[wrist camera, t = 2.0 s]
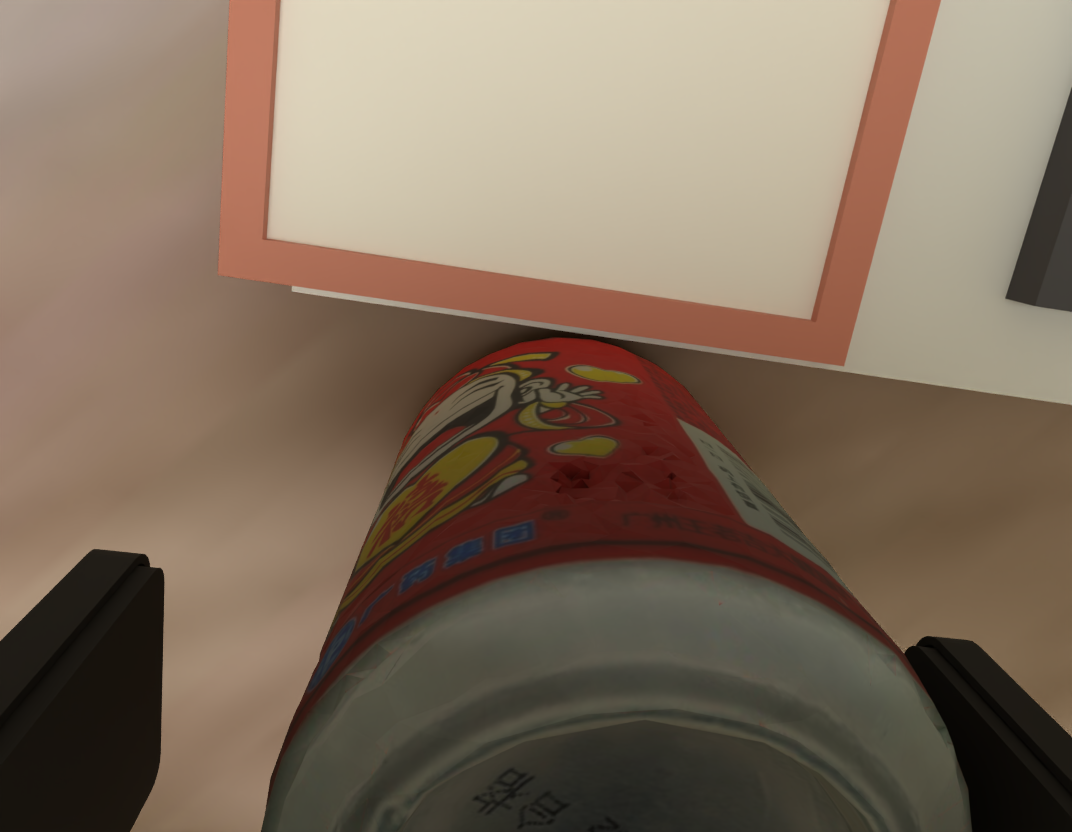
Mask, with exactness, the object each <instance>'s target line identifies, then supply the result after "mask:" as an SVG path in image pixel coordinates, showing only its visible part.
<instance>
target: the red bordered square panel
mask: <svg viewBox="0 0 1072 832" xmlns="http://www.w3.org/2000/svg"><path fill="white" fill-rule="evenodd" d="M940 3H941V0H230V2H229V26H228V50H227V73H226V97H225V120H224V144H223V167H222V191H221V215H220V238H219V262H218V275H221V276H228V277H235V278H242V279H249V280H256V281H262V282H269V283H276V284H283V285H290V286H297V287H304V288H310V289H317V290H324V291H331V292H338V293H345V294H352V295H358V296H365V297H372V298H379V299H386V300H393V301H399V302H406V303H413V304H420V305H427V306H434V307H441V308H447V309H454V310H461V311H468V312H475V313H482V314H489V315H495V316H502V317H509V318H516V319H523V320H530V321H537V322H543V323H550V324H557V325H564V326H571V327H578V328H585V329H591V330H598V331H605V332H612V333H619V334H626V335H633V336H639V337H646V338H653V339H660V340H667V341H674V342H681V343H687V344H694V345H701V346H708V347H715V348H722V349H729V350H735V351H742V352H749V353H756V354H763V355H770V356H777V357H783V358H790V359H797V360H804V361H811V362H818V363H824V364H831V365H838V366H844V365H845V361H846V357H847V353H848V349H849V346H850V342H851V338H852V334H853V331H854V327H855V323H856V319H857V316H858V312H859V308H860V304H861V300H862V297H863V293H864V289H865V285H866V282H867V278H868V274H869V270H870V267H871V263H872V259H873V255H874V251H875V248H876V244H877V240H878V236H879V233H880V229H881V225H882V221H883V217H884V214H885V210H886V206H887V202H888V199H889V195H890V191H891V187H892V184H893V180H894V176H895V172H896V168H897V165H898V161H899V157H900V153H901V150H902V146H903V142H904V138H905V135H906V131H907V127H908V123H909V119H910V116H911V112H912V108H913V104H914V101H915V97H916V93H917V89H918V86H919V82H920V78H921V74H922V70H923V67H924V63H925V59H926V55H927V52H928V48H929V44H930V40H931V36H932V33H933V29H934V25H935V21H936V18H937V14H938V10H939V6H940Z"/></svg>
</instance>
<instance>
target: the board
mask: <svg viewBox="0 0 1072 832" xmlns="http://www.w3.org/2000/svg"><path fill="white" fill-rule="evenodd" d="M1071 88H1072V0H941V3H940V6H939V10H938V14H937V18H936V21H935V25H934V29H933V33H932V36H931V40H930V44H929V48H928V52H927V55H926V59H925V63H924V67H923V70H922V74H921V78H920V82H919V86H918V89H917V93H916V97H915V101H914V104H913V108H912V112H911V116H910V119H909V123H908V127H907V131H906V135H905V138H904V142H903V146H902V150H901V153H900V157H899V161H898V165H897V168H896V172H895V176H894V180H893V184H892V187H891V191H890V195H889V199H888V202H887V206H886V210H885V214H884V217H883V221H882V225H881V229H880V233H879V236H878V240H877V244H876V248H875V251H874V255H873V259H872V263H871V267H870V270H869V274H868V278H867V282H866V285H865V289H864V293H863V297H862V300H861V304H860V308H859V312H858V316H857V319H856V323H855V327H854V331H853V334H852V338H851V342H850V346H849V349H848V353H847V357H846V361H845V365H844V366H838V365H831V364H824V363H818V362H811V361H804V360H797V359H790V358H783V357H777V356H770V355H763V354H756V353H749V352H742V351H735V350H729V349H722V348H715V347H708V346H701V345H694V344H687V343H681V342H674V341H667V340H660V339H653V338H646V337H639V336H633V335H626V334H619V333H612V332H605V331H598V330H591V329H585V328H578V327H571V326H564V325H557V324H550V323H543V322H537V321H530V320H523V319H516V318H509V317H502V316H495V315H489V314H482V313H475V312H468V311H461V310H454V309H447V308H441V307H434V306H427V305H420V304H413V303H406V302H399V301H393V300H386V299H379V298H372V297H365V296H358V295H352V294H345V293H338V292H331V291H324V290H317V289H310V288H304V287H297V286H292V292H299V293H305V294H312V295H319V296H326V297H333V298H340V299H347V300H354V301H360V302H367V303H374V304H381V305H388V306H395V307H402V308H409V309H415V310H422V311H429V312H436V313H443V314H450V315H457V316H464V317H471V318H477V319H484V320H491V321H498V322H505V323H512V324H519V325H526V326H532V327H539V328H546V329H553V330H560V331H567V332H574V333H581V334H587V335H594V336H601V337H608V338H615V339H622V340H629V341H636V342H642V343H649V344H656V345H663V346H670V347H677V348H684V349H691V350H697V351H704V352H711V353H718V354H725V355H732V356H739V357H746V358H753V359H759V360H766V361H773V362H780V363H787V364H794V365H801V366H808V367H814V368H821V369H828V370H835V371H842V372H849V373H856V374H863V375H869V376H876V377H883V378H890V379H897V380H904V381H911V382H918V383H924V384H931V385H938V386H945V387H952V388H959V389H966V390H973V391H980V392H986V393H993V394H1000V395H1007V396H1014V397H1021V398H1028V399H1035V400H1041V401H1048V402H1055V403H1062V404H1069V405H1072V312H1069V311H1063V310H1056V309H1050V308H1043V307H1037V306H1032V305H1028V304H1024V303H1020V302H1016V301H1013V300H1009V299H1005V297H1006V294H1007V291H1008V288H1009V285H1010V282H1011V278H1012V275H1013V272H1014V269H1015V266H1016V262H1017V259H1018V256H1019V253H1020V250H1021V247H1022V243H1023V240H1024V237H1025V234H1026V231H1027V227H1028V224H1029V221H1030V218H1031V215H1032V212H1033V208H1034V205H1035V202H1036V199H1037V196H1038V193H1039V189H1040V186H1041V183H1042V180H1043V177H1044V173H1045V170H1046V167H1047V164H1048V161H1049V158H1050V154H1051V151H1052V148H1053V145H1054V142H1055V138H1056V135H1057V132H1058V129H1059V126H1060V123H1061V119H1062V116H1063V113H1064V110H1065V107H1066V104H1067V100H1068V97H1069V94H1070V91H1071Z"/></svg>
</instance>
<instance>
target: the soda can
mask: <svg viewBox="0 0 1072 832" xmlns="http://www.w3.org/2000/svg"><path fill="white" fill-rule="evenodd" d="M261 832H972V826H971V816H970V805H969V794H968V788H967V785H966V782H965V780H964V777H963V774H962V772H961V769H960V766H959V764H958V761H957V757H956V754H955V750H954V746H953V743H952V741H951V738H950V735H949V733H948V730H947V727H946V725H945V724H944V722H943V720H942V718H941V716H940V714H939V712H938V711H937V709H936V707H935V705H934V703H933V702H932V700H931V698H930V696H929V695H928V693H927V691H926V689H925V688H924V686H923V684H922V683H921V681H920V679H919V677H918V676H917V674H916V672H915V671H914V669H913V668H912V666H911V664H910V663H909V661H908V659H907V658H906V656H905V654H904V653H903V652H902V651H901V650H900V649H899V647H898V646H897V645H896V644H895V643H894V642H893V641H892V639H891V638H890V637H889V636H888V635H887V634H886V633H885V631H884V630H883V629H882V628H881V627H880V626H879V625H878V623H877V622H876V621H875V620H874V619H873V618H872V617H871V615H870V614H869V613H868V612H867V611H866V610H865V608H864V607H863V606H862V605H861V604H860V603H859V602H858V600H857V599H856V598H855V597H854V595H853V594H852V593H851V592H850V590H849V589H848V588H847V587H846V585H845V584H844V583H843V582H842V580H841V579H840V578H839V576H838V575H837V573H836V572H835V571H834V569H833V568H832V567H831V565H830V564H829V563H828V561H827V560H826V559H825V558H824V557H823V556H822V554H821V553H820V552H819V551H818V550H817V549H816V548H815V547H814V545H813V544H812V543H811V542H810V541H809V540H808V539H807V538H806V536H805V535H804V534H803V533H802V531H801V530H800V529H799V528H798V526H797V525H796V524H795V523H794V521H793V520H792V519H791V518H790V516H789V515H788V514H787V513H786V511H785V510H784V509H783V508H782V506H781V505H780V504H779V503H778V501H777V500H776V499H775V498H774V496H773V495H772V494H771V492H770V491H769V490H768V489H767V487H766V486H765V485H764V484H763V483H762V482H761V480H760V479H759V478H758V477H757V476H756V475H755V473H754V472H753V471H752V470H751V468H750V467H749V466H748V465H747V463H746V462H745V461H744V459H743V458H742V457H741V456H740V454H739V453H738V452H737V451H736V449H735V448H734V447H733V446H732V444H731V443H730V442H729V441H728V440H727V439H726V438H725V436H724V435H723V434H722V433H721V431H720V430H719V429H718V427H717V426H716V425H715V424H714V423H713V421H712V420H711V419H710V418H709V416H708V415H707V414H706V413H705V412H704V410H703V409H702V408H701V407H700V405H699V404H698V403H697V402H696V401H695V399H694V398H693V397H692V396H691V394H690V393H689V392H688V391H687V390H686V388H685V387H684V386H682V385H681V384H680V383H679V382H678V381H676V380H675V379H674V378H673V377H672V376H670V375H669V374H668V373H667V372H665V371H664V370H663V369H661V368H660V367H658V366H657V365H656V364H654V363H652V362H650V361H648V360H645V359H643V358H641V357H639V356H637V355H635V354H633V353H631V352H629V351H626V350H624V349H622V348H620V347H617V346H614V345H610V344H607V343H603V342H599V341H596V340H592V339H576V338H558V337H554V338H548V339H541V340H534V341H527V342H520V343H518V344H515V345H512V346H510V347H507V348H504V349H502V350H499V351H496V352H494V353H491V354H489V355H487V356H485V357H483V358H481V359H479V360H477V361H475V362H474V363H472V364H470V365H468V366H466V367H464V368H463V369H462V370H461V371H460V372H459V373H457V374H456V375H455V376H454V377H453V378H451V379H450V380H449V381H448V382H447V383H445V384H444V385H443V386H442V387H441V388H439V389H438V390H437V391H436V393H435V394H434V395H433V396H432V398H431V399H430V400H429V401H428V403H427V404H426V405H425V406H424V408H423V409H422V410H421V412H420V413H419V415H418V417H417V418H416V420H415V421H414V423H413V425H412V426H411V428H410V429H409V431H408V433H407V435H406V436H405V438H404V441H403V444H402V447H401V450H400V452H399V454H398V456H397V459H396V461H395V465H394V468H393V470H392V473H391V475H390V478H389V481H388V483H387V486H386V488H385V491H384V494H383V497H382V500H381V502H380V504H379V507H378V509H377V512H376V514H375V517H374V519H373V522H372V524H371V527H370V529H369V532H368V534H367V537H366V539H365V541H364V544H363V546H362V549H361V551H360V554H359V556H358V559H357V561H356V564H355V566H354V569H353V571H352V574H351V577H350V579H349V582H348V584H347V587H346V589H345V592H344V594H343V597H342V599H341V602H340V604H339V607H338V609H337V612H336V614H335V617H334V620H333V622H332V625H331V627H330V630H329V632H328V635H327V637H326V640H325V642H324V645H323V647H322V650H321V652H320V658H319V662H318V664H317V666H316V668H315V670H314V672H313V674H312V676H311V679H310V681H309V683H308V686H307V688H306V690H305V693H304V695H303V697H302V700H301V702H300V704H299V706H298V708H297V710H296V712H295V715H294V717H293V719H292V721H291V724H290V726H289V729H288V732H287V735H286V737H285V740H284V743H283V746H282V748H281V751H280V754H279V757H278V759H277V762H276V765H275V768H274V770H273V773H272V776H271V780H270V786H269V792H268V798H267V805H266V811H265V816H264V821H263V825H262V830H261Z"/></svg>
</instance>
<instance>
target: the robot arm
mask: <svg viewBox="0 0 1072 832" xmlns="http://www.w3.org/2000/svg"><path fill="white" fill-rule="evenodd" d="M163 622H164V573H163V570H162V569H161V568H153V567H150V563H149V559H148V557H147V556H146V555H145V554H138V553H128V552H119V551H109V550H99V549H93V550H92V551H90V552H89V553H88V554H87V555H86V556H85V557H84V558H83V559H82V560H81V561H80V562H79V563H78V564H77V565H76V566H75V567H74V568H73V569H72V570H71V571H70V572H69V573H68V574H67V575H66V576H65V577H64V578H63V579H62V580H61V581H60V582H59V583H58V584H57V585H56V586H55V587H54V588H53V589H52V590H51V591H50V592H49V593H48V594H47V595H46V596H45V597H44V598H43V599H42V600H41V601H40V602H39V603H38V604H37V605H36V606H35V607H34V608H33V609H32V610H31V611H30V612H29V613H28V614H27V615H26V616H25V617H24V618H23V619H22V620H21V621H20V622H19V623H18V624H17V625H16V626H15V627H14V628H13V629H12V630H11V631H10V632H9V633H8V634H7V635H6V636H5V637H4V638H3V639H2V640H1V641H0V832H130V830H131V829H132V827H133V825H134V823H135V821H136V819H137V817H138V815H139V813H140V811H141V809H142V808H143V806H144V804H145V802H146V800H147V798H148V796H149V794H150V792H151V790H152V788H153V786H154V783H155V780H156V777H157V773H158V769H159V764H160V755H161V712H162V667H163ZM904 654H905V656H906V658H907V659H908V661H909V663H910V664H911V666H912V668H913V669H914V671H915V672H916V674H917V676H918V677H919V679H920V681H921V683H922V684H923V686H924V688H925V689H926V691H927V693H928V695H929V696H930V698H931V700H932V702H933V703H934V705H935V707H936V709H937V711H938V712H939V714H940V716H941V718H942V720H943V722H944V724H945V725H946V727H947V730H948V733H949V735H950V738H951V741H952V743H953V746H954V750H955V754H956V757H957V761H958V764H959V766H960V769H961V772H962V774H963V777H964V780H965V782H966V785H967V788H968V794H969V805H970V816H971V826H972V832H1072V737H1071V736H1070V735H1069V734H1068V733H1067V732H1066V731H1065V730H1064V729H1063V728H1062V727H1061V726H1060V725H1059V724H1058V723H1057V722H1056V721H1055V720H1054V719H1053V718H1052V717H1051V716H1050V715H1049V714H1048V713H1047V712H1046V711H1044V710H1043V709H1042V708H1041V707H1040V706H1039V705H1038V704H1037V703H1036V702H1035V701H1034V700H1033V699H1032V698H1031V697H1030V696H1029V695H1028V694H1027V693H1026V692H1025V691H1024V690H1023V689H1022V688H1021V687H1020V686H1019V685H1018V684H1017V683H1016V682H1015V681H1014V680H1013V679H1012V678H1011V677H1010V676H1009V675H1008V674H1007V673H1006V672H1005V671H1004V670H1003V669H1002V668H1001V667H1000V666H999V665H998V664H997V663H996V662H995V661H994V660H993V659H992V658H991V657H990V656H989V655H988V654H987V653H986V652H985V651H984V650H983V649H981V648H980V647H979V646H978V645H977V644H976V643H974V642H973V641H969V640H961V639H951V638H942V637H932V636H926V637H924V638H922V639H921V640H920V641H919V642H918V643H917V645H916V646H911V647H909V648H908V649H907V650H906V651H905V653H904Z"/></svg>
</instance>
